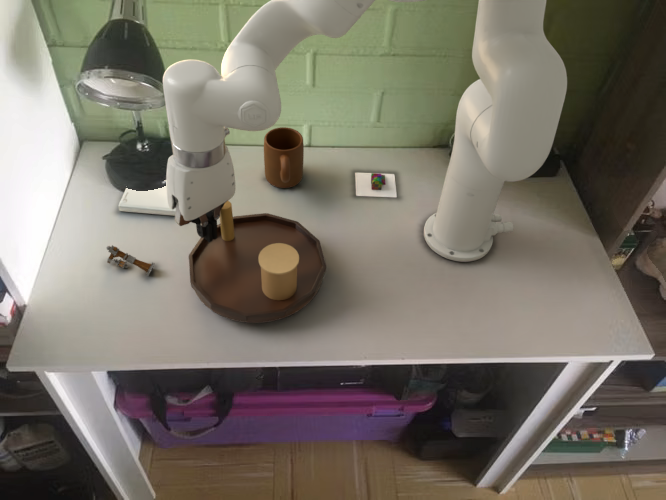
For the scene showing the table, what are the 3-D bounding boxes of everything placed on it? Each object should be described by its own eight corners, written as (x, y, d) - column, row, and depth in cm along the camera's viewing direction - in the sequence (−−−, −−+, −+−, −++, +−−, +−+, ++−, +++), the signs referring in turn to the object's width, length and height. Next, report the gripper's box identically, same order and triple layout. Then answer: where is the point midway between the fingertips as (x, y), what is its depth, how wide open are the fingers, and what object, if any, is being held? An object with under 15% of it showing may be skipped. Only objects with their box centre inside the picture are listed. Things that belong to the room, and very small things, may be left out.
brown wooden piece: (105, 254, 101) (110, 240, 98) (149, 275, 103) (155, 262, 100) (100, 262, 100) (105, 248, 97) (144, 283, 102) (150, 270, 98)
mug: (305, 204, 114) (307, 166, 107) (265, 205, 113) (264, 167, 106) (301, 164, 122) (302, 126, 115) (264, 165, 121) (262, 126, 114)
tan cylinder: (306, 288, 96) (307, 260, 91) (276, 308, 93) (275, 279, 88) (282, 266, 99) (282, 237, 94) (252, 284, 96) (250, 255, 91)
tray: (350, 276, 100) (354, 241, 94) (243, 347, 89) (239, 313, 83) (270, 206, 110) (269, 170, 104) (165, 261, 100) (157, 225, 94)
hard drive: (117, 205, 109) (185, 211, 109) (131, 176, 114) (195, 181, 114) (119, 212, 110) (186, 217, 110) (132, 183, 115) (196, 188, 115)
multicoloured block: (396, 197, 117) (398, 187, 115) (356, 195, 116) (357, 186, 114) (394, 174, 121) (395, 164, 120) (355, 172, 121) (356, 162, 119)
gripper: (223, 115, 91) (228, 204, 105) (138, 155, 83) (156, 245, 97) (255, 138, 88) (257, 226, 101) (171, 182, 80) (184, 271, 93)
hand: (207, 235), depth 99 cm, fingers closed
